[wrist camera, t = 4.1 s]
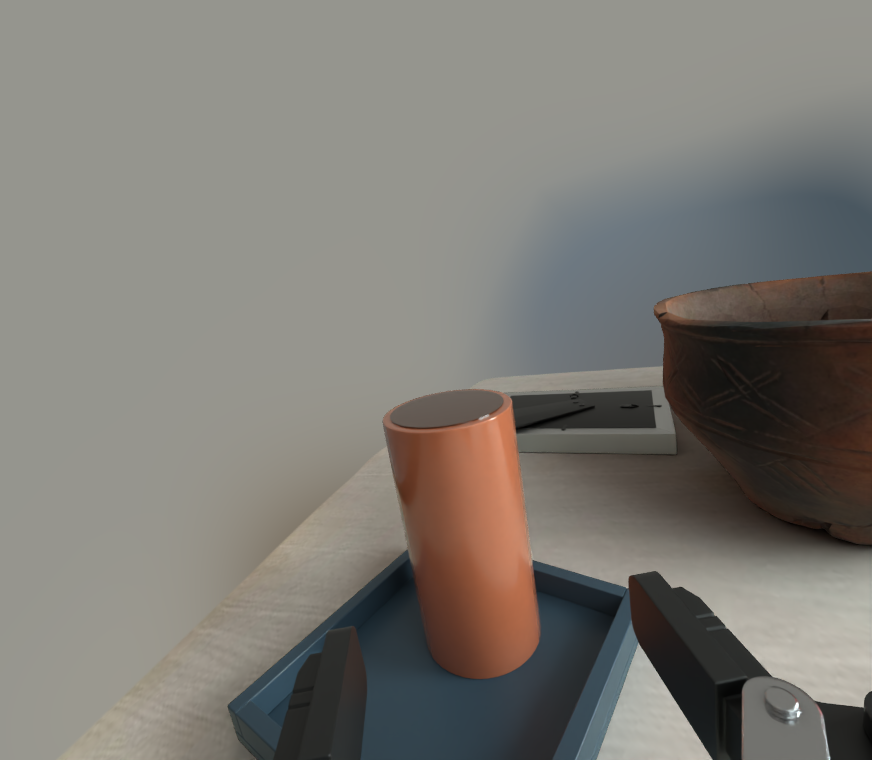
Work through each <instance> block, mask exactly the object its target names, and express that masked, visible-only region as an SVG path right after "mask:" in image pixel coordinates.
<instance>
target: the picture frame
mask: <svg viewBox="0 0 872 760" xmlns="http://www.w3.org/2000/svg"><path fill="white" fill-rule="evenodd" d="M504 394H506V395H508V396H509V397H510V398H511V400H512V403H513V411H514V419H515V427H516V435H517V443H518V451H519V452H553V453H617V454H677V448H676V432H675V428H674V423H673V419H672V414H671V410H670V405H669V402H668V401H667V399H666V398H665V393H664V387H663V386H652V387H628V388H604V389H580V390H556V391H532V392H508V393H504Z"/></svg>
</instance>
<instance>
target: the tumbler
mask: <svg viewBox="0 0 872 760" xmlns="http://www.w3.org/2000/svg"><path fill="white" fill-rule="evenodd" d="M383 427H384V432H385V437H386V442H387V448H388V453H389V458H390V463H391V468H392V473H393V478H394V483H395V488H396V493H397V498H398V503H399V508H400V513H401V518H402V523H403V528H404V533H405V538H406V543H407V548H408V553H409V558H410V563H411V568H412V573H413V578H414V583H415V588H416V593H417V598H418V603H419V608H420V613H421V619H422V624H423V629H424V634H425V639H426V643H427V647H428V650H429V652H430V654H431V656H432V657H433V659H434V660H435V661H436V662H437V663H438V664H439V665H440V666H441V667H442V668H444V669H445V670H447V671H448V672H450V673H453V674H455V675H457V676H461V677H464V678H470V679H490V678H495V677H499V676H502V675H505V674H508V673H510V672H512V671H514V670H515V669H517V668H519V667H520V666H521V665H523V664H524V663H525V662H526V661H527V660H528V659H529V658H530V657H531V656H532V654H533V653H534V651H535V650H536V648H537V646H538V643H539V640H540V635H541V624H540V616H539V608H538V601H537V593H536V585H535V577H534V569H533V561H532V553H531V545H530V538H529V530H528V522H527V514H526V506H525V498H524V490H523V482H522V474H521V467H520V459H519V451H518V443H517V435H516V427H515V419H514V411H513V403H512V400H511V398H510V397H509V396H508V395H506V394H504V393H501V392H498V391H493V390H483V389H467V390H454V391H447V392H441V393H435V394H431V395H426V396H423V397H419V398H416V399H413V400H410V401H408V402H405V403H403V404H401V405H398V406H396V407H394V408H393V409H392V410H390V411H389V412H387V413H386V414H385V416H384V417H383Z"/></svg>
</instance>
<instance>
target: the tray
mask: <svg viewBox="0 0 872 760" xmlns="http://www.w3.org/2000/svg"><path fill="white" fill-rule="evenodd" d="M532 561H533V569H534V577H535V585H536V593H537V601H538V608H539V616H540V624H541V635H540V640H539V643H538V646H537V648H536V650H535V651H534V653H533V654H532V656H531V657H530V658H529V659H528V660H527V661H526V662H525V663H524V664H523V665H521V666H520V667H519V668H517V669H515V670H514V671H512V672H510V673H508V674H505V675H502V676H499V677H495V678H490V679H470V678H464V677H461V676H457V675H455V674H453V673H450V672H448V671H447V670H445V669H444V668H442V667H441V666H440V665H439V664H438V663H437V662H436V661H435V660H434V659H433V657H432V656H431V654H430V652H429V650H428V647H427V643H426V639H425V634H424V629H423V624H422V619H421V613H420V608H419V603H418V598H417V593H416V588H415V583H414V578H413V573H412V568H411V563H410V558H409V553H408V549H407V550H406V551H405V552H404V553H403V554H402V555H400V556H399V557H398V558H397V559H396V560H395V561H393V562H392V563H391V564H390V565H389V566H388V567H387V568H385V569H384V570H383V571H382V572H381V573H380V574H378V575H377V576H376V577H375V578H374V579H373V580H372V581H370V582H369V583H368V584H367V585H366V586H365V587H363V588H362V589H361V590H360V591H359V592H358V593H357V594H355V595H354V596H353V597H352V598H351V599H350V600H348V601H347V602H346V603H345V604H344V605H343V606H342V607H340V608H339V609H338V610H337V611H336V612H335V613H333V614H332V615H331V616H330V617H329V618H328V619H327V620H325V621H324V622H323V623H322V624H321V625H320V626H318V627H317V628H316V629H315V630H314V631H313V632H312V633H310V634H309V635H308V636H307V637H306V638H305V639H303V640H302V641H301V642H300V643H299V644H298V645H297V646H295V647H294V648H293V649H292V650H291V651H290V652H289V653H287V654H286V655H285V656H284V657H283V658H282V659H280V660H279V661H278V662H277V663H276V664H275V665H274V666H272V667H271V668H270V669H269V670H268V671H267V672H265V673H264V674H263V675H262V676H261V677H260V678H259V679H257V680H256V681H255V682H254V683H253V684H252V685H250V686H249V687H248V688H247V689H246V690H245V691H244V692H242V693H241V694H240V695H239V696H238V697H237V698H235V699H234V700H233V701H232V702H231V703H230V704H229V705H228V710H229V713H230V716H231V719H232V722H233V725H234V728H235V730H236V734H237V737H238V740H239V741H240V742H241V743H242V744H243V745H244V746H245V747H246V748H247V749H248V750H249V751H250V752H251V753H252V754H253V755H254V756H255V757H256V758H257V759H258V760H273V758H274V755H275V751H276V747H277V744H278V740H279V737H280V733H281V730H282V726H283V723H284V719H285V716H286V712H287V710H288V705H289V702H290V698H291V695H292V694H293V688H294V684H295V681H296V677H297V673H298V671H299V670H300V668H301V667H302V665H303V664H304V662H305V661H306V660H307V658H308V657H309V655H311V654H316V653H321V652H322V650H323V646H324V641H325V637H326V633H327V631H329V630H334V629H339V628H344V627H350V626H354V627H355V629H356V632H357V636H358V640H359V644H360V648H361V652H362V656H363V661H364V665H365V669H366V675H367V701H366V711H365V720H364V730H363V740H362V750H361V760H596V759H597V756H598V753H599V751H600V748H601V745H602V742H603V739H604V737H605V734H606V731H607V728H608V726H609V723H610V720H611V717H612V714H613V712H614V709H615V706H616V703H617V701H618V698H619V695H620V692H621V689H622V687H623V684H624V681H625V678H626V676H627V673H628V670H629V667H630V664H631V662H632V659H633V656H634V653H635V651H636V648H637V645H638V640H637V638H636V635H635V633H634V629H633V626H632V621H631V609H630V595H629V588H626V587H622V586H619V585H616V584H612V583H609V582H605V581H602V580H598V579H595V578H592V577H588V576H585V575H581V574H578V573H575V572H571V571H568V570H564V569H561V568H558V567H554V566H551V565H547V564H544V563H540V562H537V561H534V560H532Z"/></svg>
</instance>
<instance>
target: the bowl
mask: <svg viewBox="0 0 872 760" xmlns="http://www.w3.org/2000/svg"><path fill="white" fill-rule="evenodd" d="M654 315H655V316H656V318H657V319H658V320H659V322H660V323H661V328H662V331H663V334H664V357H663V387H664V393H665V398H666V399H667V401H668V402H669V404H670V405H671V407H672V409H673V411H674V412H675V414H676V415H677V417H678V418H679V419H680V420H681V422H682V423H683V424H684V425H685V426H686V427H687V428H688V429H689V430H690V431H691V432H692V433H693V434H694V435H695V436H696V437H697V439H698V440H699V441H700V442H701V443H702V444H703V445H704V446H705V447H706V448H707V449H708V450H709V451H710V452H711V453H712V454H713V455H714V457H715V458H716V459H717V460H718V461H719V462H720V463H721V464H722V466H723V467H724V468H725V469H726V470H727V471H728V472H729V474H730V475H731V476H732V477H733V478H734V479H735V480H736V481H737V483H738V484H739V486H740V488H741V489H742V491H743V492H744V494H745V495H746V496H747V497H748V498H749V500H750V501H752V502H753V503H754V504H756V505H757V506H759V507H760V508H762V509H763V510H765V511H767V512H768V513H770V514H772V515H773V516H775V517H777V518H779V519H781V520H784V521H787V522H790V523H794V524H798V525H802V526H806V527H810V528H814V529H820V528H824V529H825V530H826V531H827V532H828V533H829V534H830V535H831V536H832V537H835V538H838V539H842V540H845V541H848V542H852V543H855V544H862V545H872V272H862V273H852V274H851V273H850V274H840V275H827V276H817V277H808V278H797V279H787V280H776V281H766V282H757V283H748V284H739V285H732V286H725V287H718V288H712V289H707V290H701V291H695V292H691V293H687V294H683V295H679V296H675V297H671V298H667V299H664V300H662V301H660V302H658V303H657V305H655V306H654Z"/></svg>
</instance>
